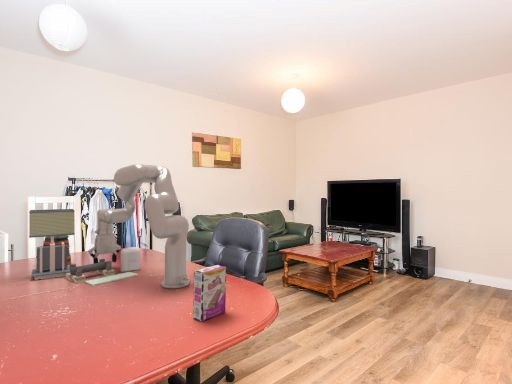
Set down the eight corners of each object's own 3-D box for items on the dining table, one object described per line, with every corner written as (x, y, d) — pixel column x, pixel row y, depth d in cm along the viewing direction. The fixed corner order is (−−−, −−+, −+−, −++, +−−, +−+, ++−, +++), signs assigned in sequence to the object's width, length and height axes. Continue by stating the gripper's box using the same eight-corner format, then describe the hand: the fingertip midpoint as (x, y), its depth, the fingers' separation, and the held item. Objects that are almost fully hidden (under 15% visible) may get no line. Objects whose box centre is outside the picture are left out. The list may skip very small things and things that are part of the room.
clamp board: (114, 275, 157) (115, 261, 157) (76, 283, 143) (76, 268, 143) (103, 271, 164) (103, 257, 164) (66, 278, 150) (66, 264, 150)
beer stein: (39, 262, 182) (39, 228, 182) (68, 259, 191) (68, 226, 191) (41, 269, 167) (41, 232, 167) (72, 265, 176) (72, 230, 176)
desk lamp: (72, 269, 167) (72, 208, 167) (74, 275, 155) (74, 210, 155) (30, 274, 157) (30, 209, 157) (29, 281, 145) (29, 211, 145)
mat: (137, 275, 156) (137, 274, 156) (92, 285, 139) (92, 284, 139) (129, 272, 161) (129, 271, 161) (84, 282, 144) (84, 281, 144)
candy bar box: (202, 322, 101) (202, 272, 101) (192, 318, 105) (192, 270, 104) (226, 312, 110) (226, 266, 110) (216, 309, 113) (217, 264, 113)
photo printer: (138, 268, 171) (138, 245, 171) (141, 269, 168) (141, 246, 168) (119, 271, 164) (119, 247, 164) (122, 272, 161) (122, 249, 161)
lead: (106, 269, 161) (105, 262, 162) (109, 267, 159) (108, 260, 160) (71, 276, 148) (69, 268, 149) (73, 274, 146) (72, 266, 147)
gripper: (91, 234, 158) (91, 267, 158) (124, 230, 172) (124, 261, 172) (85, 233, 163) (85, 265, 163) (117, 229, 176) (117, 260, 176)
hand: (105, 263), depth 167 cm, fingers open, 9 cm apart
